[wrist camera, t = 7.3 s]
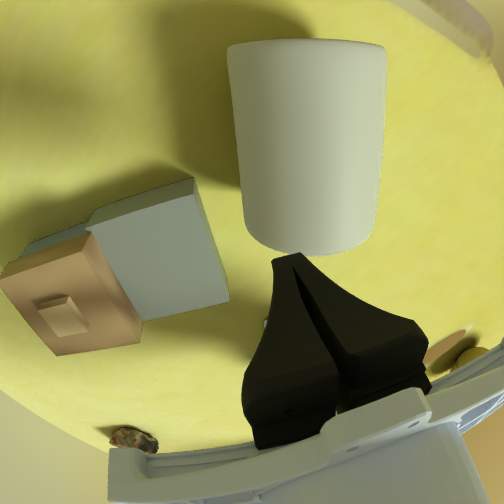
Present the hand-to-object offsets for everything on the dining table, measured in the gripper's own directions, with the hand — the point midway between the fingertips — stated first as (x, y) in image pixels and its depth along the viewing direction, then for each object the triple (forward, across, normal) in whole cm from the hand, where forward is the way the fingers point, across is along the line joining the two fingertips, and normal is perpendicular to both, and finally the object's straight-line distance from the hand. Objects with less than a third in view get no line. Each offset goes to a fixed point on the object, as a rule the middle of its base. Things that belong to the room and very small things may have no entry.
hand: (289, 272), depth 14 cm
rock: (+11, +29, +38) cm, 49 cm away
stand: (+10, +8, +3) cm, 13 cm away
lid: (+7, +16, +3) cm, 18 cm away
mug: (+7, -6, -10) cm, 13 cm away
